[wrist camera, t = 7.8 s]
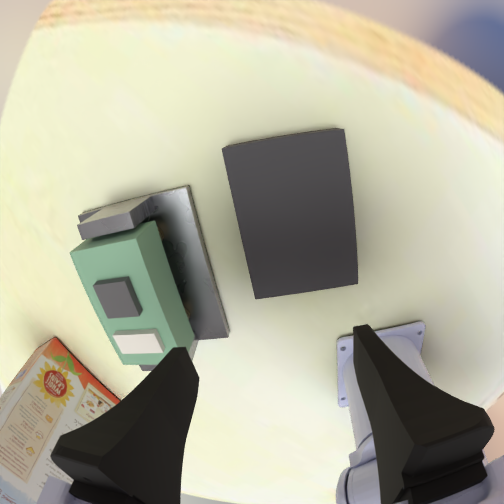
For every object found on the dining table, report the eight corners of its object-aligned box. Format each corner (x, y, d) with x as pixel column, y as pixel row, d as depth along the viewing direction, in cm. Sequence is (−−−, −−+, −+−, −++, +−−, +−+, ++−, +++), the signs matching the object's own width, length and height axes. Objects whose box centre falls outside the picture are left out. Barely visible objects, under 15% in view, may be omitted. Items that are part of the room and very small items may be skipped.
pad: (351, 270, 22) (358, 283, 20) (256, 284, 22) (255, 299, 21) (336, 128, 18) (343, 129, 16) (226, 145, 19) (221, 148, 17)
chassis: (229, 331, 24) (222, 368, 21) (134, 337, 26) (116, 370, 22) (189, 185, 20) (168, 202, 16) (83, 212, 21) (51, 232, 17)
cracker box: (35, 348, 28) (-50, 475, 9) (56, 334, 27) (-43, 483, 8) (112, 422, 33) (62, 550, 14) (141, 416, 31) (90, 564, 12)
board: (194, 335, 22) (183, 370, 19) (136, 339, 23) (120, 370, 19) (154, 220, 18) (131, 243, 15) (92, 234, 19) (64, 256, 16)
